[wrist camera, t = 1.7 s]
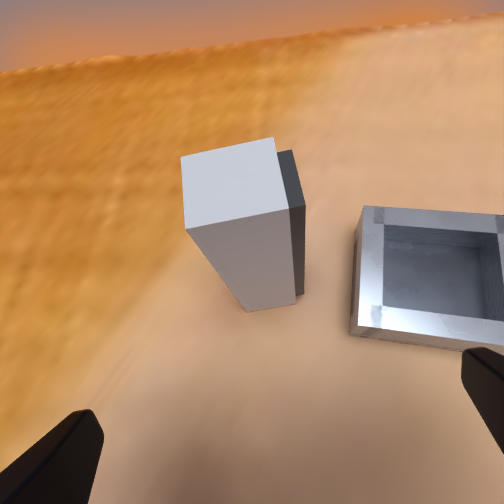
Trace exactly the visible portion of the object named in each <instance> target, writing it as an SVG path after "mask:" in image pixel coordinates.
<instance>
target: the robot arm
mask: <svg viewBox="0 0 504 504" xmlns="http://www.w3.org/2000/svg"><path fill="white" fill-rule="evenodd" d="M461 379H462V383H463V386H464V388H465V390H466V391H467V393H468V395H469V396H470V398H471V400H472V402H473V403H474V405H475V407H476V408H477V410H478V412H479V413H480V415H481V417H482V419H483V420H484V422H485V424H486V425H487V427H488V429H489V431H490V432H491V434H492V436H493V437H494V439H495V441H496V443H497V444H498V446H499V447H500V449H501V451H502V452H503V454H504V355H502V354H499V353H497V352H495V351H493V350H490V349H488V348H486V347H475V348H468V349H465V350H464V351H463V353H462V367H461ZM103 443H104V433H103V430H102V428H101V426H100V424H99V422H98V420H97V418H96V416H95V414H94V413H93V411H91V410H90V409H85V410H79V411H75V412H72V413H71V414H70V415H68V416H67V417H66V418H65V419H64V420H62V421H61V422H60V423H59V424H58V425H57V426H55V427H54V428H53V429H52V430H51V431H49V432H48V433H47V434H46V435H45V436H43V437H42V438H41V439H40V440H39V441H38V442H36V443H35V444H34V445H33V446H32V447H30V448H29V449H28V450H27V451H26V452H24V453H23V454H22V455H21V456H20V457H19V458H17V459H16V460H15V461H14V462H13V463H11V464H10V465H9V466H8V467H7V468H5V469H4V470H3V471H2V472H1V473H0V504H88V501H89V497H90V493H91V490H92V486H93V482H94V478H95V474H96V470H97V466H98V462H99V459H100V455H101V451H102V447H103Z"/></svg>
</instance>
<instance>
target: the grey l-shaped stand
mask: <svg viewBox="0 0 504 504" xmlns="http://www.w3.org/2000/svg"><path fill="white" fill-rule="evenodd" d="M349 335H353V336H360V337H366V338H373V339H380V340H387V341H394V342H400V343H407V344H414V345H421V346H427V347H434V348H441V349H448V350H454V351H461V352H463V351H464V350H465V349H468V348H475V347H486V348H488V349H490V350H493V351H495V352H497V353H499V354H502V355H504V215H495V214H480V213H466V212H451V211H437V210H422V209H408V208H393V207H378V206H363V209H362V212H361V215H360V218H359V221H358V224H357V227H356V230H355V245H354V262H353V280H352V298H351V315H350V333H349Z"/></svg>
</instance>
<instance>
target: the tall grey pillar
mask: <svg viewBox="0 0 504 504" xmlns="http://www.w3.org/2000/svg"><path fill="white" fill-rule="evenodd" d="M181 168H182V184H183V200H184V217H185V229H186V231H187V232H188V233H189V235H190V236H191V237H192V239H193V240H194V242H195V243H196V244H197V246H198V247H199V248H200V250H201V251H202V252H203V254H204V255H205V256H206V258H207V259H208V261H209V262H210V263H211V265H212V266H213V267H214V269H215V270H216V271H217V273H218V274H219V275H220V277H221V278H222V279H223V281H224V282H225V284H226V285H227V286H228V288H229V289H230V290H231V292H232V293H233V294H234V296H235V297H236V298H237V300H238V301H239V303H240V304H241V305H242V307H243V308H244V309H245V311H246V312H252V311H258V310H263V309H269V308H275V307H280V306H286V305H292V304H296V296H295V295H301V294H304V269H305V211H306V205H305V200H304V196H303V192H302V188H301V184H300V180H299V176H298V172H297V168H296V164H295V160H294V156H293V152H292V150H287V151H282V152H278V153H276V148H275V144H274V139H273V137H270V138H266V139H261V140H256V141H252V142H247V143H243V144H238V145H233V146H229V147H224V148H220V149H215V150H210V151H206V152H201V153H197V154H192V155H187V156H183V157H181Z"/></svg>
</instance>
